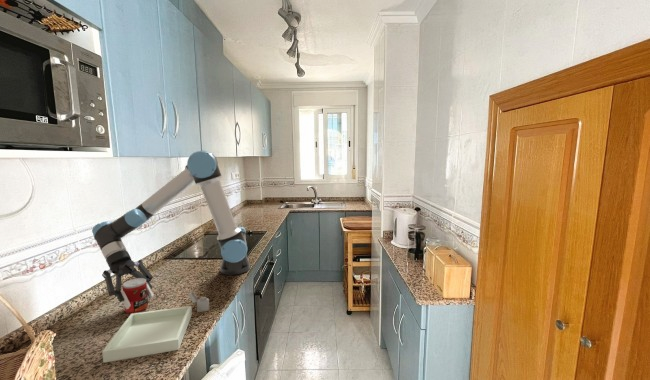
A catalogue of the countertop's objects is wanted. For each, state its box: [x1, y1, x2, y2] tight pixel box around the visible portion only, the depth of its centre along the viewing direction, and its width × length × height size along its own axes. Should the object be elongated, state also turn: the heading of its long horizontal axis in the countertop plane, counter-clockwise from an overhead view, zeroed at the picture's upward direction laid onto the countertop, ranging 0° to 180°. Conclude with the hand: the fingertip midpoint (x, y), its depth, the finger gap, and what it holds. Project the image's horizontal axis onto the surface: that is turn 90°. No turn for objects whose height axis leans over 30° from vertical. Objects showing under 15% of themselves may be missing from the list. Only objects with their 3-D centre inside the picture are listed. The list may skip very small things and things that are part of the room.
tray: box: [101, 305, 193, 363], centre depth 91 cm, size 20×20×4 cm
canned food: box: [121, 278, 149, 314], centre depth 106 cm, size 8×8×11 cm
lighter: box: [187, 291, 210, 313], centre depth 105 cm, size 7×2×8 cm, turn 106°
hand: (140, 302), depth 105 cm, fingers closed on canned food, 8 cm apart
